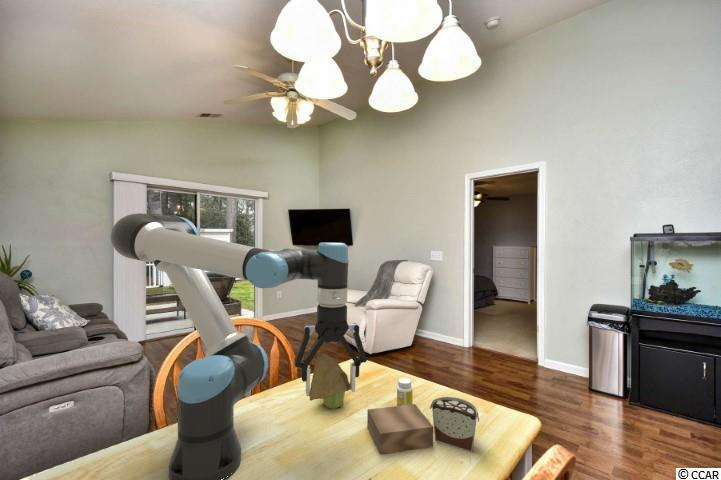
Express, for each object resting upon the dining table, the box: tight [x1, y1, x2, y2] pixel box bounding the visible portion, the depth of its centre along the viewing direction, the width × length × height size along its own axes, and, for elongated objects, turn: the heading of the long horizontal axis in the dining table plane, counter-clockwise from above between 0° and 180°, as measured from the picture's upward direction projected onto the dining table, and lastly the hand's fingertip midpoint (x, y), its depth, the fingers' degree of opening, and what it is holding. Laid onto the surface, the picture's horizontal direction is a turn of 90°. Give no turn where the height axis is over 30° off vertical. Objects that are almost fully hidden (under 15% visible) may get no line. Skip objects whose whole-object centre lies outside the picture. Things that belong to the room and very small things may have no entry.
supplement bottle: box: [396, 377, 413, 406], centre depth 106 cm, size 5×5×8 cm
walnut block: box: [366, 403, 434, 455], centre depth 91 cm, size 14×12×5 cm
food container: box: [429, 396, 480, 454], centre depth 90 cm, size 12×6×10 cm, turn 59°
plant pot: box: [322, 373, 350, 409], centre depth 108 cm, size 9×9×9 cm
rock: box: [309, 352, 351, 402], centre depth 86 cm, size 11×9×10 cm
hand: (330, 391), depth 87 cm, fingers closed on rock, 11 cm apart
